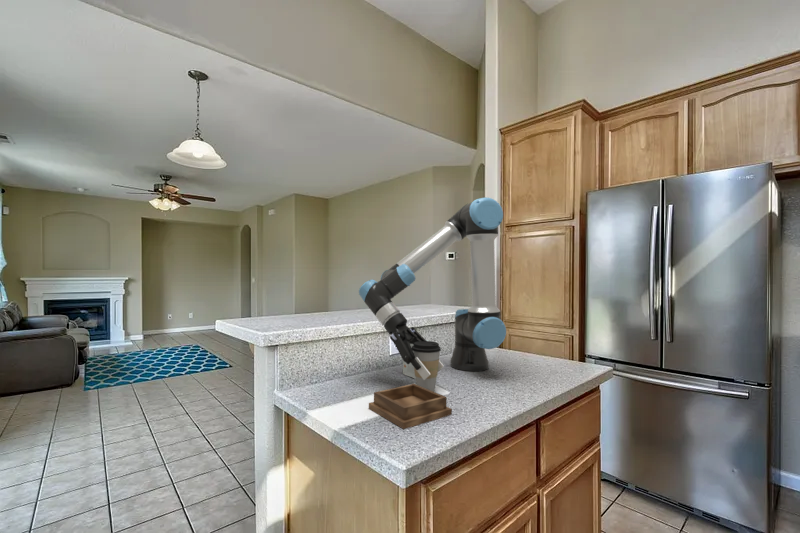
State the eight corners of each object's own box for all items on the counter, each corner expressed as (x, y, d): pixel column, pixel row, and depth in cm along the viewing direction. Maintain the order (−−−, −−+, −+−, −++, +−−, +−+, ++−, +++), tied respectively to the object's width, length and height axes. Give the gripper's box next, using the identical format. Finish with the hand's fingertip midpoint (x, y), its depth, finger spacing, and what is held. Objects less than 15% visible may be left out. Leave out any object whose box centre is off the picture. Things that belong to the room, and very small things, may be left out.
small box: (429, 376, 132) (430, 340, 132) (415, 379, 128) (416, 342, 129) (415, 371, 139) (416, 337, 139) (402, 374, 135) (402, 338, 135)
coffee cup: (438, 396, 111) (439, 347, 111) (408, 394, 113) (409, 345, 113) (441, 387, 120) (442, 341, 121) (413, 384, 122) (414, 339, 123)
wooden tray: (414, 397, 110) (414, 382, 110) (451, 414, 97) (451, 397, 97) (368, 408, 101) (368, 392, 101) (403, 429, 88) (403, 410, 88)
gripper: (401, 322, 134) (440, 371, 127) (366, 330, 115) (410, 389, 107) (414, 308, 132) (455, 358, 124) (381, 315, 112) (427, 374, 104)
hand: (434, 372), depth 115 cm, fingers open, 10 cm apart
